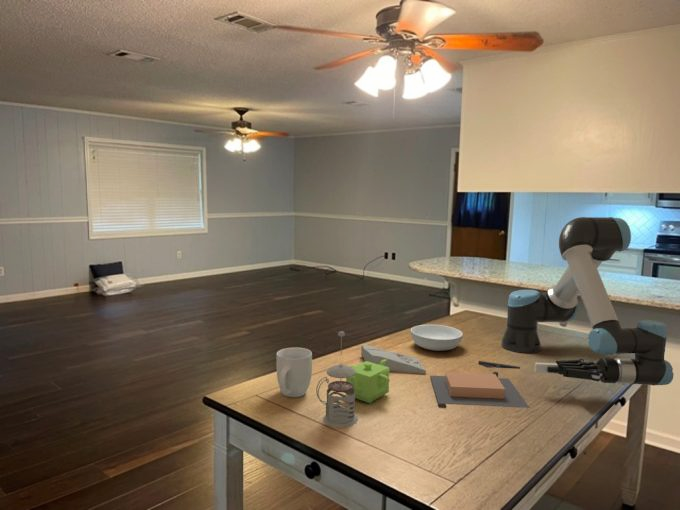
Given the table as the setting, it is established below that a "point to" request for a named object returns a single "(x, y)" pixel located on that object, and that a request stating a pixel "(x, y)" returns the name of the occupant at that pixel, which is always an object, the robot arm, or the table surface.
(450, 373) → the tile
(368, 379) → the teapot
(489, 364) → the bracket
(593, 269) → the robot arm
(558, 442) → the table surface
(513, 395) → the mat
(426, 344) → the serving bowl
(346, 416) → the french press
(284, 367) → the mug
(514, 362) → the table surface
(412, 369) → the ramp
